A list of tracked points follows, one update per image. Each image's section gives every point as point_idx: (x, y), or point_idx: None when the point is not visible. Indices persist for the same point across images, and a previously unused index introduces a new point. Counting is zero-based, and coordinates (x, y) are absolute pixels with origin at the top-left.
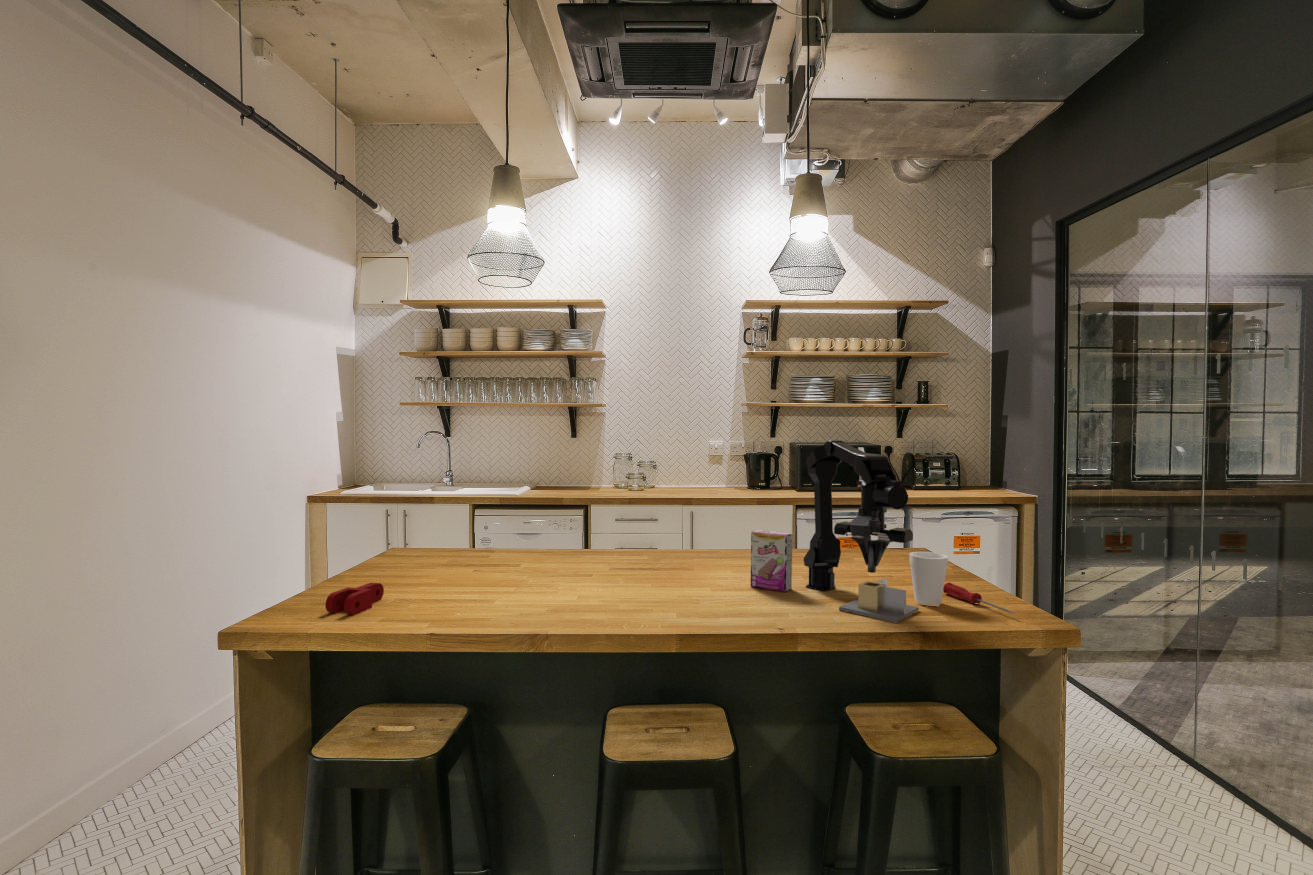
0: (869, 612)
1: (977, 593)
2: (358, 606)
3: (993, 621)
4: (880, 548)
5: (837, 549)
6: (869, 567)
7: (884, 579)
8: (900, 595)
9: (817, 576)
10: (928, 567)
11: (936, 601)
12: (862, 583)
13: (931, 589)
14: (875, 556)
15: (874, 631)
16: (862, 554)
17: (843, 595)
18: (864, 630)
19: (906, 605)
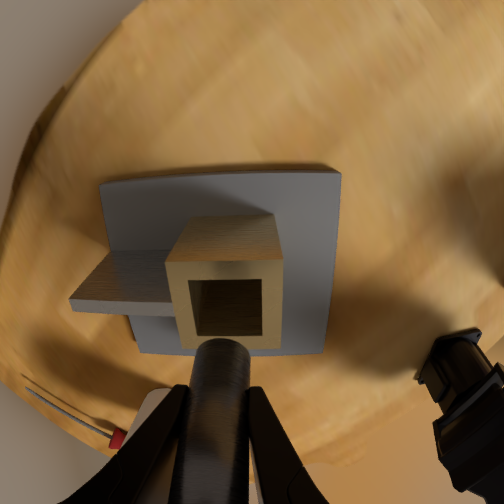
0: (207, 185)
1: (109, 447)
2: None
3: (30, 355)
4: (77, 494)
5: (454, 459)
6: (222, 363)
7: None
8: (94, 286)
9: (471, 360)
10: None
11: (142, 404)
12: (276, 294)
13: (137, 423)
14: (154, 441)
15: (113, 40)
16: (292, 446)
17: (385, 343)
18: (142, 21)
19: (171, 349)
